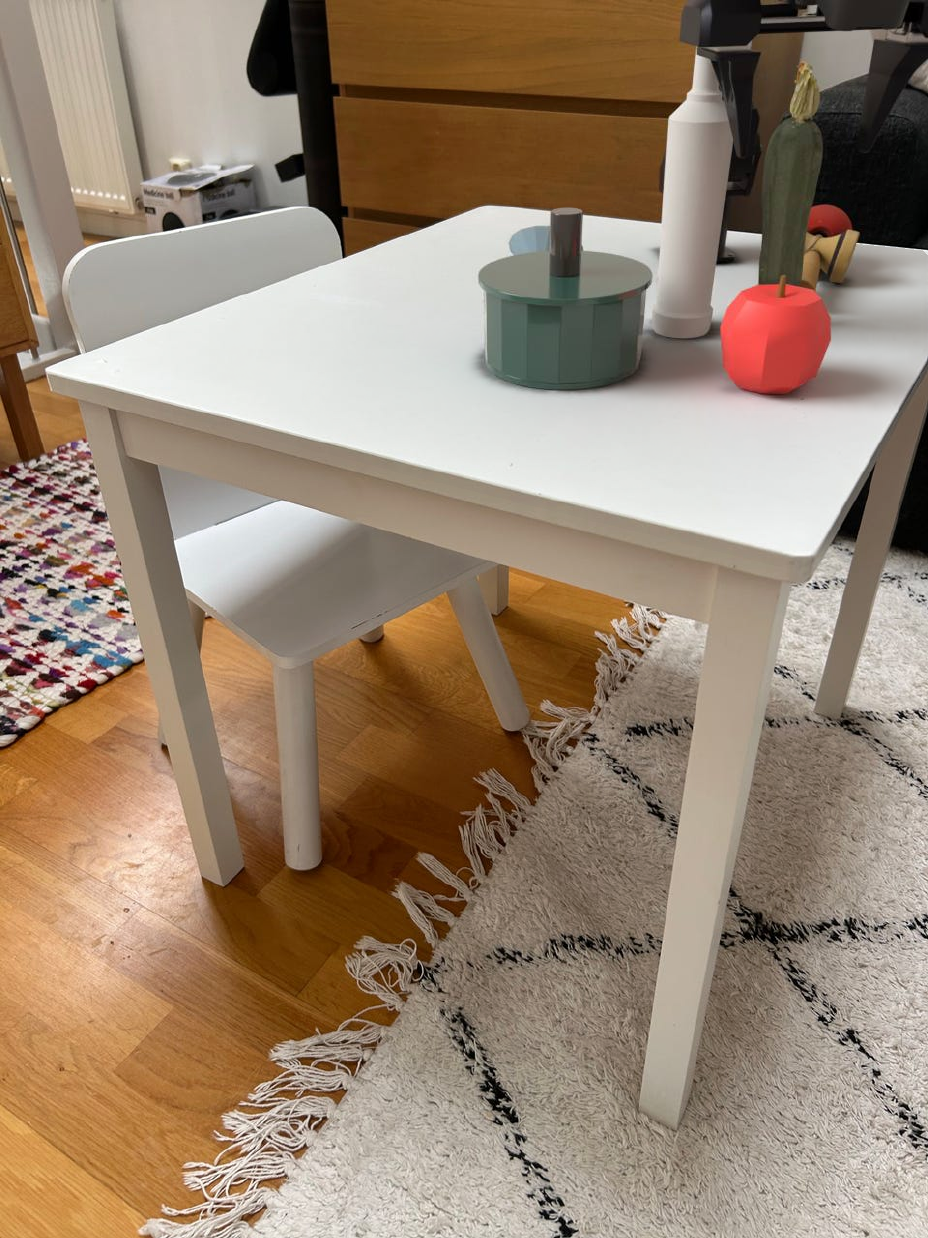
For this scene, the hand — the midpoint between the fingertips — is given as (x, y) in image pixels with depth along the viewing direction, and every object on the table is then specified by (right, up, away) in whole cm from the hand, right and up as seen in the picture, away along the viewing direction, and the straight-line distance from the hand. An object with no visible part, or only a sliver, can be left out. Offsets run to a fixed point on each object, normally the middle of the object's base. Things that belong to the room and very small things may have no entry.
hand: (802, 154), depth 71 cm
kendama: (+8, -2, +22) cm, 24 cm away
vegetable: (+1, -9, +13) cm, 16 cm away
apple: (-2, -17, +2) cm, 17 cm away
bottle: (-6, -9, +13) cm, 17 cm away
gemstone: (-17, 0, +27) cm, 32 cm away
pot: (-17, -13, +7) cm, 23 cm away
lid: (-17, -8, +3) cm, 19 cm away
